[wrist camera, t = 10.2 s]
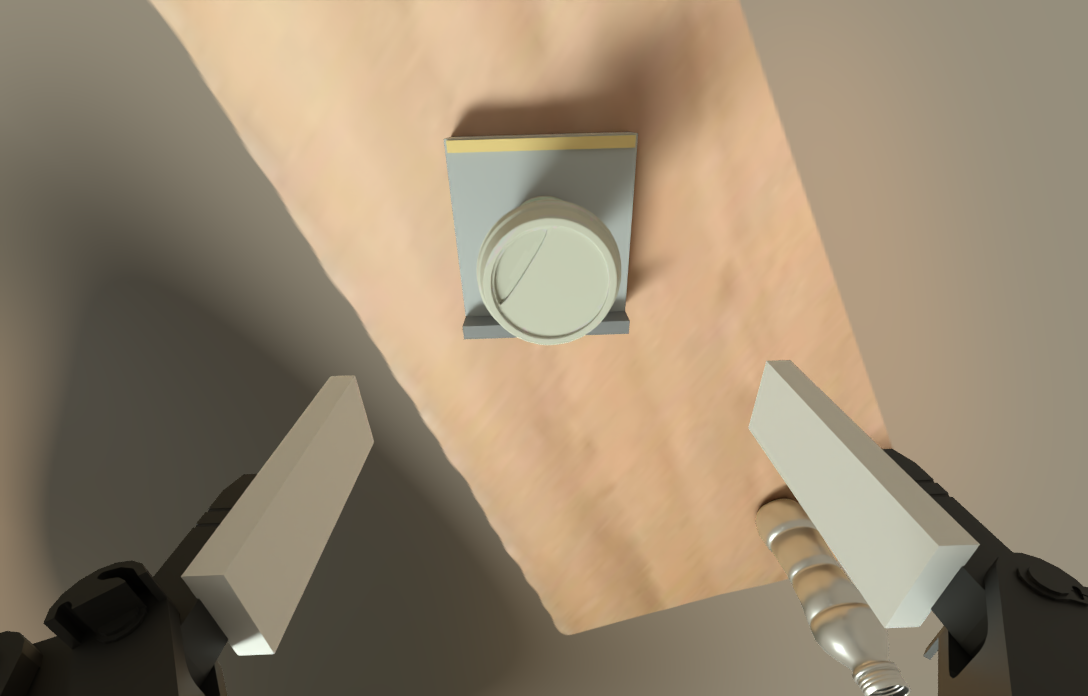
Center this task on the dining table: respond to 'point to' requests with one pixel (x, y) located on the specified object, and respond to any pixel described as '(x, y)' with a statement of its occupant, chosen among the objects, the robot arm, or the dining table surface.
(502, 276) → the coffee cup
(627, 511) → the dining table surface
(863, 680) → the plastic bottle
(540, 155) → the plate
